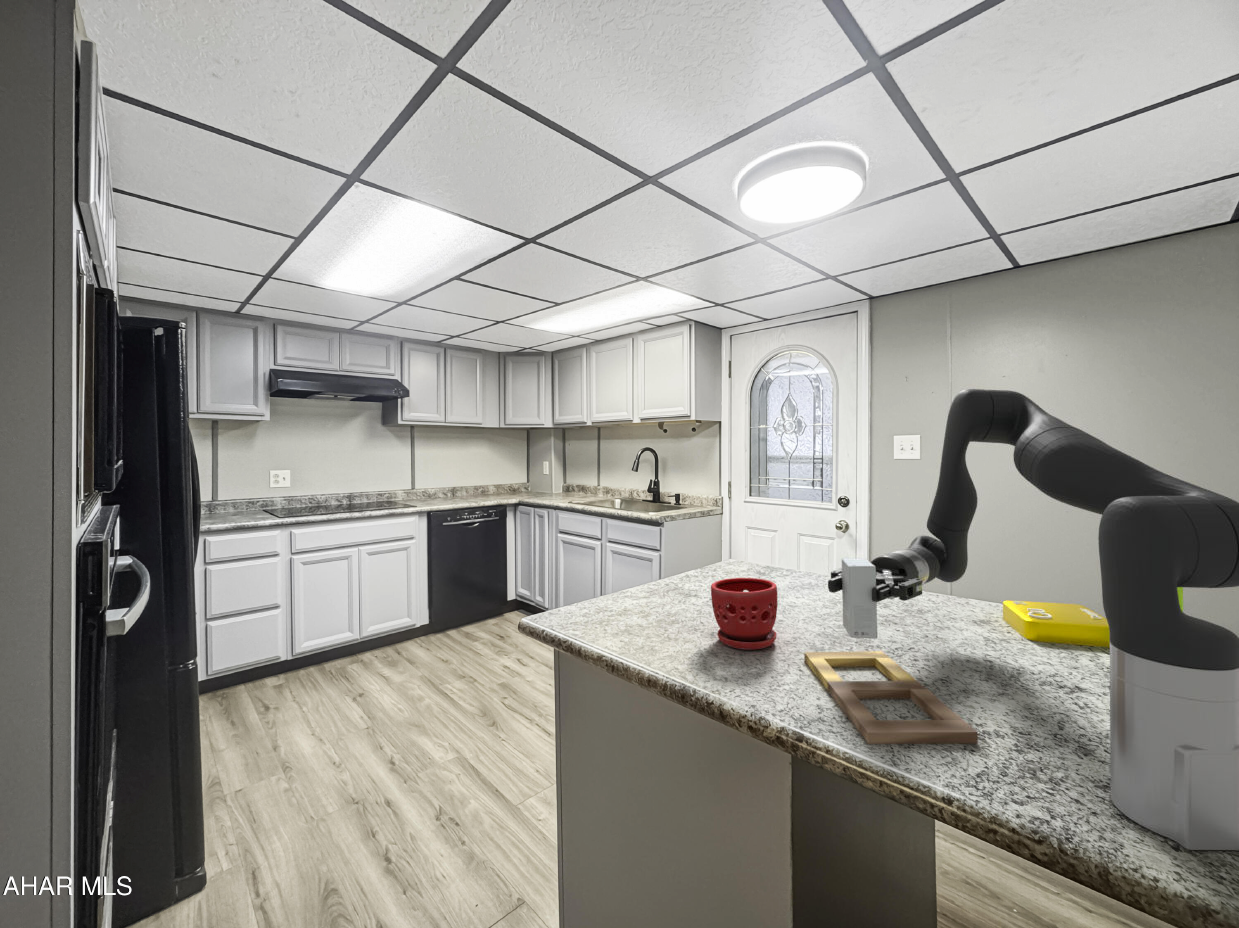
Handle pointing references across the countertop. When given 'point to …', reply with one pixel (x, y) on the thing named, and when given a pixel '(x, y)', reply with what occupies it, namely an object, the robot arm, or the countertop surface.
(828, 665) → the double wooden frame
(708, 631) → the countertop surface
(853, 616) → the skincare box
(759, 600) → the plant pot
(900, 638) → the countertop surface
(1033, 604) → the element tile
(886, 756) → the countertop surface
